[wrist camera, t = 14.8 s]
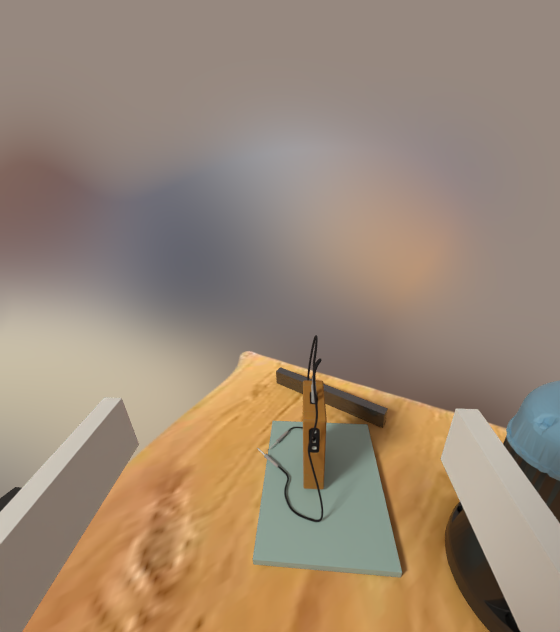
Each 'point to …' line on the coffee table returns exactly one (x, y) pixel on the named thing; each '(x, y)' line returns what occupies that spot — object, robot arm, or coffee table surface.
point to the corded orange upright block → (311, 435)
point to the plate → (326, 507)
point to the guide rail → (337, 398)
